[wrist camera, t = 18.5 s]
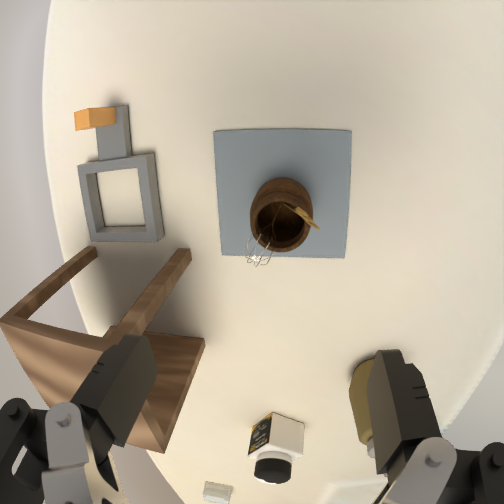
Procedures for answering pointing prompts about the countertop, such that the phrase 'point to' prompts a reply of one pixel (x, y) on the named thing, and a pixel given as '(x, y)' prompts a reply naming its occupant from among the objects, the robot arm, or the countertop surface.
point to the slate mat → (290, 166)
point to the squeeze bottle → (362, 405)
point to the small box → (217, 493)
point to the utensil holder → (280, 216)
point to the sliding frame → (116, 158)
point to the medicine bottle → (275, 448)
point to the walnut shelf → (92, 347)
